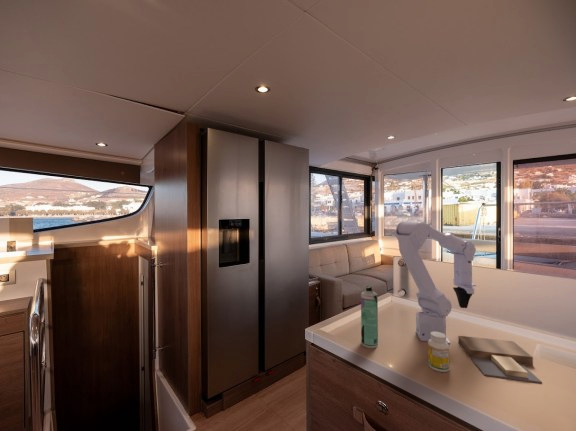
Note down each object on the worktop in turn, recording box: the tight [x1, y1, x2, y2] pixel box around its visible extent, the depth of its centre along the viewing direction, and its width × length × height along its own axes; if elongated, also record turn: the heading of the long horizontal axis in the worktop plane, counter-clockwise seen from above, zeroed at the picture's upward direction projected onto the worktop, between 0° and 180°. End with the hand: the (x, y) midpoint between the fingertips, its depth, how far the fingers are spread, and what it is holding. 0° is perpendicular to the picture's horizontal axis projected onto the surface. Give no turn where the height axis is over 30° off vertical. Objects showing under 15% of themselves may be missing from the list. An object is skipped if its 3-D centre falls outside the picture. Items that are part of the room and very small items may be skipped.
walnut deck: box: [457, 335, 534, 366], centre depth 82 cm, size 16×10×2 cm, turn 74°
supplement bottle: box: [427, 332, 450, 373], centre depth 75 cm, size 5×5×10 cm
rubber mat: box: [470, 357, 543, 384], centre depth 74 cm, size 13×9×1 cm
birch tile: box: [491, 355, 528, 378], centre depth 74 cm, size 5×8×2 cm, turn 165°
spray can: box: [360, 285, 379, 349], centre depth 89 cm, size 6×6×20 cm
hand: (463, 307), depth 98 cm, fingers closed
